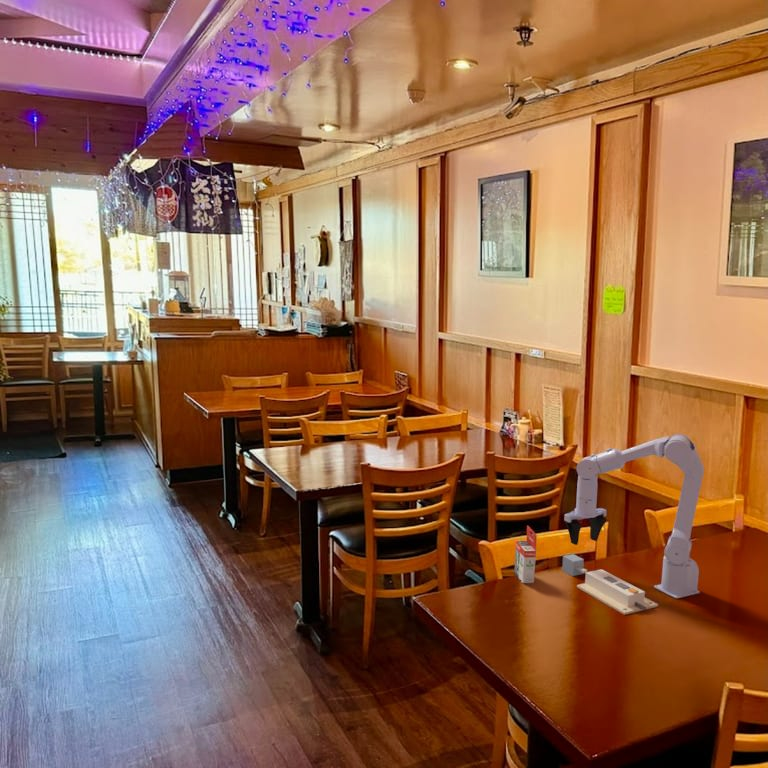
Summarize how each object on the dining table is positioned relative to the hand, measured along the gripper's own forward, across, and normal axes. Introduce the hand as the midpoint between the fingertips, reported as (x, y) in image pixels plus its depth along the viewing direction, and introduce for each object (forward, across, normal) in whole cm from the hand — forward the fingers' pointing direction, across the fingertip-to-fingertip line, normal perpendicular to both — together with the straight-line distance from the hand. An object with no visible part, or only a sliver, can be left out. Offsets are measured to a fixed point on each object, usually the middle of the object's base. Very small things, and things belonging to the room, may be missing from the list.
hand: (584, 541), depth 200 cm
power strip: (+9, +3, +17) cm, 20 cm away
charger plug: (+9, +3, +1) cm, 10 cm away
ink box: (+9, +19, -3) cm, 22 cm away
